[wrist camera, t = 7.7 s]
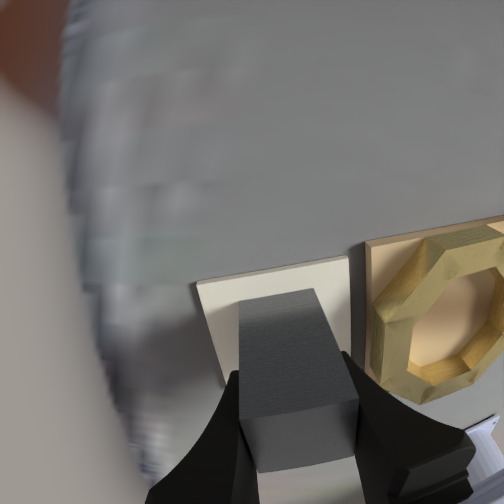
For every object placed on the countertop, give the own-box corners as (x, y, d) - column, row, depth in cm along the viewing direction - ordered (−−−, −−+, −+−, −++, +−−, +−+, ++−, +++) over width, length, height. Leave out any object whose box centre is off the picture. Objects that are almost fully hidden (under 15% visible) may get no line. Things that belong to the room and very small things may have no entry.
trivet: (348, 365, 17) (350, 370, 17) (229, 387, 17) (228, 392, 17) (345, 255, 15) (348, 258, 14) (197, 281, 15) (196, 285, 14)
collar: (490, 354, 17) (503, 369, 15) (366, 398, 17) (375, 419, 16) (518, 217, 13) (538, 227, 12) (370, 247, 14) (386, 263, 12)
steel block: (313, 287, 15) (359, 397, 8) (318, 345, 16) (353, 455, 9) (238, 300, 15) (239, 419, 8) (252, 357, 16) (258, 473, 10)
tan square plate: (485, 347, 18) (490, 354, 17) (363, 389, 18) (366, 398, 17) (509, 213, 14) (518, 217, 13) (364, 241, 14) (371, 247, 14)
